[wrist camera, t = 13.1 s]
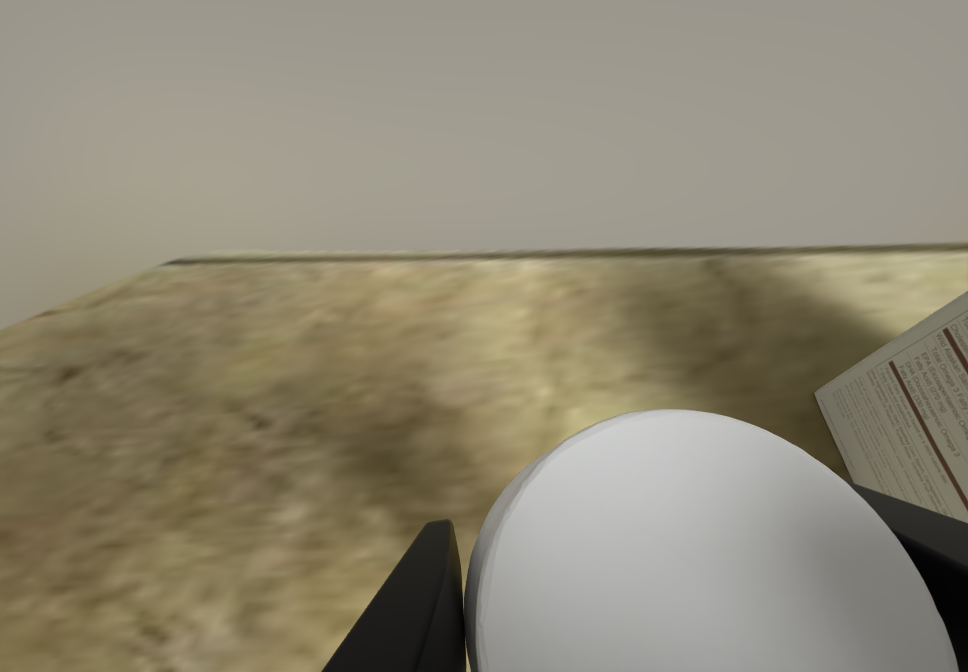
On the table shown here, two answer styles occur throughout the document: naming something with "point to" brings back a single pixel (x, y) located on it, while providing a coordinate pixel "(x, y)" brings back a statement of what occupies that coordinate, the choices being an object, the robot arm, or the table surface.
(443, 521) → the robot arm
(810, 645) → the supplement bottle
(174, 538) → the table surface
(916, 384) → the supplement box
